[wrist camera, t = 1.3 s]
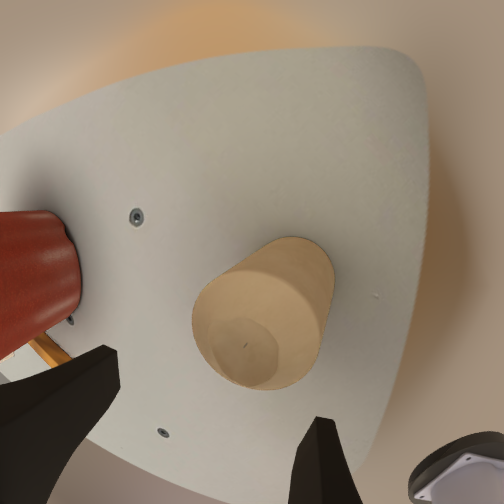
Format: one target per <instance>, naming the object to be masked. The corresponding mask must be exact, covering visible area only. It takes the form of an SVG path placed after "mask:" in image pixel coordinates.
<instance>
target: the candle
mask: <svg viewBox="0 0 504 504" xmlns="http://www.w3.org/2000/svg"><path fill="white" fill-rule="evenodd" d="M334 285H335V275H334V270H333V266H332V264H331V261H330V259H329V258H328V256H327V255H326V253H325V252H324V251H323V250H322V249H321V248H320V247H319V246H318V245H316V244H315V243H313V242H311V241H309V240H307V239H303V238H299V237H284V238H280V239H277V240H274V241H272V242H271V243H269V244H267V245H265V246H264V247H262V248H261V249H259V250H258V251H256V252H255V253H253V254H252V255H250V256H249V257H247V258H246V259H244V260H243V261H241V262H240V263H238V264H237V265H235V266H234V267H232V268H231V269H229V270H228V271H226V272H225V273H223V274H222V275H220V276H219V277H217V278H216V279H214V280H213V281H212V282H210V283H209V284H208V285H207V286H206V287H205V288H204V289H203V290H202V292H201V293H200V294H199V296H198V298H197V300H196V302H195V305H194V308H193V314H192V329H193V334H194V339H195V341H196V344H197V346H198V348H199V350H200V352H201V354H202V355H203V357H204V358H205V360H206V361H207V362H208V364H209V365H210V366H211V367H212V368H213V369H214V370H215V371H216V372H217V373H219V374H220V375H221V376H223V377H224V378H226V379H227V380H229V381H231V382H233V383H235V384H237V385H240V386H242V387H246V388H250V389H255V390H276V389H281V388H284V387H287V386H290V385H292V384H294V383H296V382H297V381H299V380H300V379H301V378H303V377H304V376H305V375H306V374H307V373H308V372H309V370H310V369H311V368H312V366H313V365H314V363H315V361H316V358H317V356H318V353H319V349H320V345H321V341H322V338H323V334H324V330H325V326H326V321H327V317H328V313H329V309H330V305H331V300H332V296H333V291H334Z"/></svg>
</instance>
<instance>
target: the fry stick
mask: <svg viewBox="0 0 504 504" xmlns="http://www.w3.org/2000/svg"><path fill="white" fill-rule="evenodd" d="M28 344H29V345H30V346H31V347H32V348H33V349H34V350H35V351H36V352H37V353H38V354H39V356H40V357H41V358H42V359H43V360H44V361H45V362H46V363H47V364H48V365H49V366H50V367H51V368H54V367H56V366H58V365H61V364H63V363H65V362H67V361H70V360H72V358H71V357H69V356H68V355H67V354H66V353H65V352H64V351H63V350H62V349H61V348H60V347H59V346H58V345H57V344H56V343H54V342H53V341H52V340H51V339H50V338H49V337H48V336H47V335H46V334H45V333H44V332H43V333H42V334H40V335H38V336H37V337H35V338H34V339H32V340H31V341H29V342H28Z"/></svg>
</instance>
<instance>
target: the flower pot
mask: <svg viewBox="0 0 504 504" xmlns="http://www.w3.org/2000/svg"><path fill="white" fill-rule="evenodd" d="M80 293H81V276H80V268H79V262H78V258H77V254H76V250H75V247H74V244H73V243H72V242H71V241H70V240H69V239H68V238H67V236H66V234H65V226H64V225H63V223H62V222H61V221H60V219H59V218H58V217H57V216H56V215H54V214H53V213H51V212H49V211H45V210H37V211H14V212H0V360H2V359H3V358H5V357H6V356H8V355H9V354H11V353H12V352H14V351H15V350H17V349H18V348H20V347H21V346H23V345H25V344H26V343H28V342H29V341H31V340H32V339H34V338H35V337H37V336H38V335H40V334H42V333H43V332H45V331H46V330H48V329H49V328H51V327H53V326H54V325H56V324H57V323H59V322H61V321H62V320H64V319H66V318H67V317H69V316H70V314H71V313H72V312H73V311H74V310H75V309H76V308H77V306H78V303H79V299H80Z"/></svg>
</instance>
